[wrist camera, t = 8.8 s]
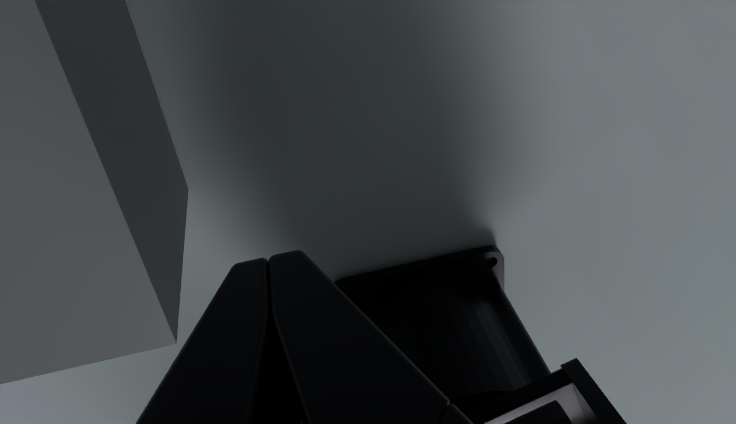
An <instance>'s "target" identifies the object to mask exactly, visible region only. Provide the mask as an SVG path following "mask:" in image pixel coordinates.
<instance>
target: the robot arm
mask: <svg viewBox="0 0 736 424" xmlns="http://www.w3.org/2000/svg"><path fill="white" fill-rule="evenodd" d="M490 257H493V258H492V259H491V260H490V261H488V262H485V261H486V260H487V259H488V258H490ZM344 290H349V293H347V294H344V293H343V292H342V291H344ZM301 423H302V424H626V422H625V421H624V420H623V418H622V417H621V416H620V414H619V413H618V412H617V411H616V409H615V408H614V407H613V405H612V404H611V403H610V401H609V400H608V399H607V397H606V396H605V395H604V393H603V392H602V391H601V389H600V388H599V387H598V385H597V384H596V383H595V381H594V380H593V379H592V378H591V376H590V375H589V374H588V372H587V371H586V370H585V368H584V367H583V366H582V364H581V363H580V362H579V360H578V359H577V358H575V359H573V360H571V361H569V362H566V363H564V364H562V365H561V369H559V370H557V371H554V372H552V373H551V372H550V371H549V369H548V367H547V365H546V364H545V362H544V360H543V358H542V357H541V355H540V353H539V352H538V350H537V348H536V346H535V345H534V343H533V341H532V339H531V338H530V336H529V334H528V333H527V331H526V329H525V327H524V326H523V324H522V322H521V320H520V319H519V317H518V315H517V314H516V312H515V310H514V308H513V307H512V305H511V303H510V302H509V300H508V298H507V296H506V295H505V293H504V258H503V255H502V254H501V252H500V250H499V249H498V248H497V247H496V246H492V245H489V246H483V247H479V248H474V249H470V250H466V251H461V252H457V253H452V254H448V255H443V256H439V257H435V258H430V259H426V260H421V261H417V262H412V263H408V264H404V265H399V266H395V267H390V268H386V269H382V270H377V271H373V272H368V273H364V274H359V275H355V276H351V277H346V278H342V279H339V280H337V281H336V282H335V283H333V282H332V281H331V280H330V279H329V278H328V277H327V276H326V275H325V274H324V273H323V272H322V271H321V269H320V268H319V267H318V266H317V265H316V264H315V263H314V262H313V261H312V260H311V259H310V258H309V257H308V256H307V255H306V254H305V253H304V252H302V251H300V250H295V251H291V252H286V253H282V254H277V255H273V256H271V257H270V259H269V262H268V260H267V259H265V258H259V259H254V260H250V261H245V262H241V263H237V264H235V265H234V266H233V267H232V268H231V270H230V271H229V273H228V275H227V276H226V278H225V279H224V281H223V283H222V284H221V286H220V288H219V289H218V291H217V292H216V294H215V296H214V297H213V299H212V301H211V302H210V304H209V305H208V307H207V309H206V310H205V312H204V314H203V315H202V317H201V318H200V320H199V322H198V323H197V325H196V327H195V328H194V330H193V331H192V333H191V335H190V336H189V338H188V340H187V341H186V343H185V344H184V346H183V348H182V349H181V351H180V353H179V354H178V356H177V357H176V359H175V361H174V362H173V364H172V366H171V367H170V369H169V370H168V372H167V374H166V375H165V377H164V379H163V380H162V382H161V383H160V385H159V387H158V388H157V390H156V392H155V393H154V395H153V396H152V398H151V400H150V401H149V403H148V405H147V406H146V408H145V409H144V411H143V413H142V414H141V416H140V418H139V419H138V421H137V422H136V424H301Z"/></svg>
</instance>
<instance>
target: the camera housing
mask: <svg viewBox="0 0 736 424" xmlns="http://www.w3.org/2000/svg"><path fill="white" fill-rule="evenodd" d="M187 200H188V188H187V185H186V182H185V179H184V176H183V173H182V170H181V167H180V164H179V161H178V158H177V155H176V152H175V149H174V146H173V143H172V140H171V137H170V134H169V131H168V128H167V125H166V122H165V119H164V116H163V113H162V110H161V107H160V104H159V101H158V98H157V95H156V92H155V90H154V87H153V84H152V81H151V78H150V75H149V72H148V69H147V66H146V63H145V60H144V57H143V54H142V51H141V48H140V45H139V42H138V39H137V36H136V33H135V30H134V27H133V24H132V21H131V18H130V15H129V12H128V9H127V6H126V3H125V0H0V384H3V383H7V382H12V381H16V380H20V379H25V378H29V377H33V376H38V375H42V374H46V373H51V372H55V371H59V370H64V369H68V368H73V367H77V366H81V365H86V364H90V363H94V362H99V361H103V360H107V359H112V358H116V357H120V356H125V355H129V354H133V353H138V352H142V351H146V350H151V349H155V348H159V347H164V346H168V345H172V344H176V342H177V329H178V316H179V303H180V290H181V278H182V265H183V252H184V239H185V226H186V213H187Z"/></svg>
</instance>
